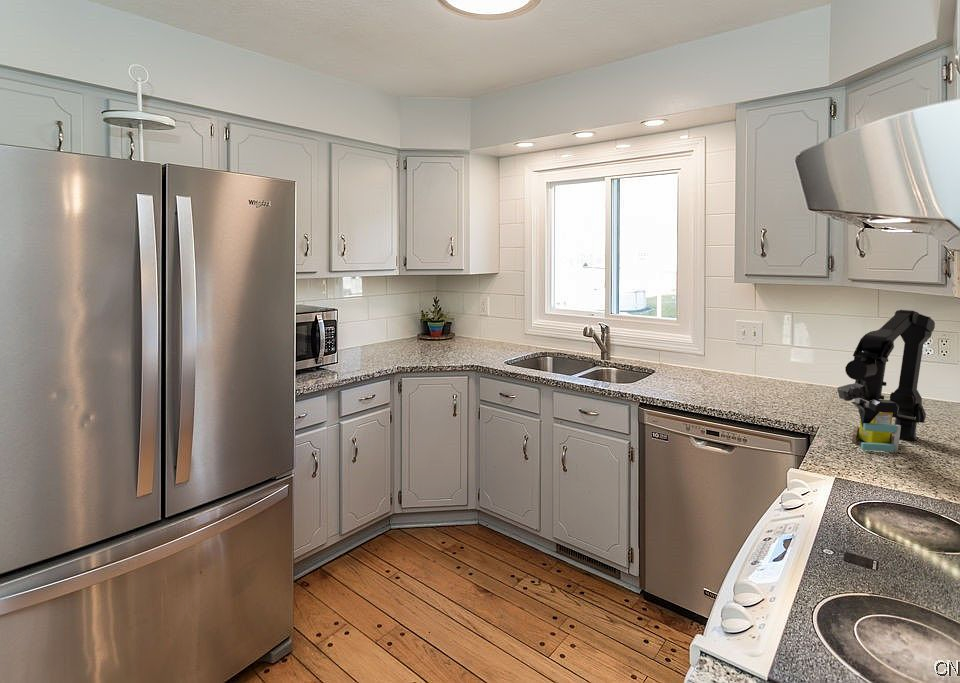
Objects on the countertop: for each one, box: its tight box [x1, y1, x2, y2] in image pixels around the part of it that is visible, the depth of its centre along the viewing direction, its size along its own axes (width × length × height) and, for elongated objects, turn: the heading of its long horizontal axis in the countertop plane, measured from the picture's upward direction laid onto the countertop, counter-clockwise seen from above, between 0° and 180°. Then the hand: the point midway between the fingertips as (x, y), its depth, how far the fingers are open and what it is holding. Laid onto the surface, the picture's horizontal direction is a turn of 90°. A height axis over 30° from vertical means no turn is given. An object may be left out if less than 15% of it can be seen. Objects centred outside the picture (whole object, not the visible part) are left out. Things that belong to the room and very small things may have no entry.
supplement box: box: [857, 412, 893, 444], centre depth 177 cm, size 6×6×11 cm
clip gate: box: [860, 423, 901, 453], centre depth 169 cm, size 1×10×8 cm, turn 81°
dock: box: [851, 426, 895, 445], centre depth 178 cm, size 10×11×3 cm
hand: (864, 427), depth 171 cm, fingers closed
